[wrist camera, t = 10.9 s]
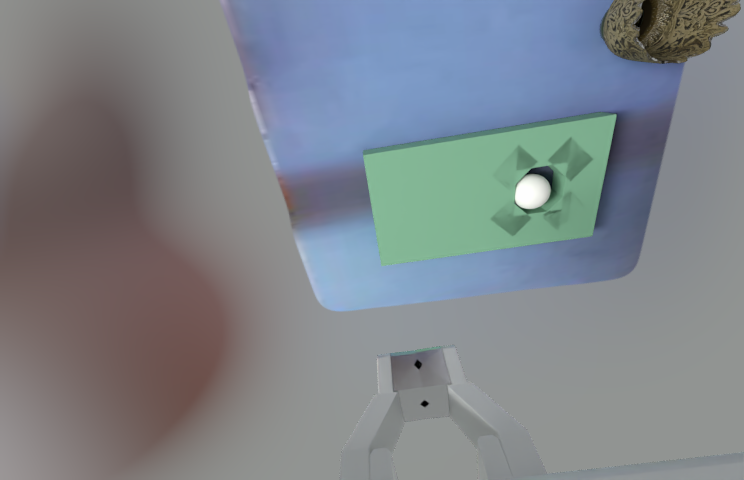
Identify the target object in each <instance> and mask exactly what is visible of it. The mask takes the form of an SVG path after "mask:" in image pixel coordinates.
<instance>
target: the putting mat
mask: <svg viewBox="0 0 744 480" xmlns="http://www.w3.org/2000/svg"><path fill="white" fill-rule="evenodd" d="M616 116H617V114H612V113H604V112H597V113H591V114H584V115H578V116H572V117H566V118H560V119H554V120H548V121H541V122H535V123H529V124H523V125H517V126H511V127H505V128H498V129H492V130H486V131H480V132H474V133H468V134H462V135H455V136H449V137H443V138H437V139H431V140H425V141H419V142H412V143H406V144H400V145H394V146H388V147H382V148H376V149H369V150H363V157H364V163H365V169H366V175H367V181H368V187H369V193H370V199H371V205H372V211H373V217H374V223H375V229H376V235H377V241H378V247H379V253H380V259H381V265H382V266H385V265H392V264H399V263H406V262H413V261H420V260H428V259H435V258H442V257H449V256H456V255H463V254H470V253H477V252H484V251H491V250H498V249H505V248H512V247H519V246H526V245H533V244H540V243H548V242H555V241H562V240H569V239H576V238H583V237H590V236H592V235H593V230H594V225H595V220H596V215H597V210H598V205H599V200H600V195H601V191H602V186H603V181H604V176H605V171H606V166H607V161H608V156H609V151H610V146H611V141H612V136H613V131H614V126H615V121H616ZM542 166H549V167H550V168H551V169H552V170H553V171H554V172H553V180H552V188H551V193H550V196H549V198H548V200H547V201H546V202H545V203H544V204H543V205H542V206H540V207H538V208H535V209H525V208H522V207H520V206H517V205H515V204H514V201H515V185H516V184H517V183H518V182H519V181H520V180H521V179H522V177H523V176H524V175H525V174H526V173H527V172H528V171H529V170H530V169H531V168H536V167H542Z"/></svg>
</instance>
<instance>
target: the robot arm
mask: <svg viewBox="0 0 744 480" xmlns="http://www.w3.org/2000/svg"><path fill="white" fill-rule="evenodd" d="M377 371H378V373H377V374H378V394H375V395H374V396H373V398H372V400H371V402H370V403H369V405H368V407H367V409H366V410H365V412H364V414H363V416H362V417H361V419H360V420H359V422H358V424H357V426H356V427H355V429H354V431H353V432H352V434H351V436H350V438H349V439H348V441H347V443H346V445H345V446H344V448H343V450H342V451H341V467H340V480H398V478H397V474H396V470H395V466H394V462H393V458H392V454H393V451H394V449H395V447H396V444H397V442H398V439H399V437H400V434H401V432H402V429H403V427H404V422H409V421H416V420H422V419H430V418H440V417H450V418H451V419H452V420H453V421H454V423H455V424H456V425H457V426H458V427H459V429H460V430H461V431H462V432H463V433H464V434H465V436H466V437H467V438H468V439H469V440H470V442H471V443H472V444H473V445H474V446H475V447H476V449H477V479H478V480H744V452H741V453H732V454H723V455H713V456H704V457H695V458H687V459H677V460H669V461H660V462H650V463H641V464H632V465H624V466H615V467H605V468H596V469H587V470H578V471H569V472H560V473H551V474H547V472H546V470H545V468H544V465H543V463H542V461H541V459H540V457H539V455H538V453H537V450H536V448H535V446H534V443H533V441H532V439H531V437H530V435H529V432H528V431H527V429H526V428H525V427H523V426H522V425H521V424H520V423H519V422H518V421H517V420H515V419H514V418H513V417H512V416H511V415H510V414H508V413H507V412H506V411H505V410H504V409H503V408H501V407H500V406H499V405H498V404H497V403H496V402H494V401H493V400H492V399H491V398H490V397H489V396H487V395H486V394H485V393H484V392H483V391H482V390H480V389H479V388H478V387H477V386H476V385H475V384H473V383H472V382H467V379H466V376H465V373H464V370H463V367H462V364H461V362H460V359H459V355H458V352H457V349H456V347H455V345H448V346H441V347H440V346H439V347H432V348H426V349H419V350H415V351H407V352H399V353H390V354H381V355H377Z"/></svg>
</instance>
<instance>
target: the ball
mask: <svg viewBox="0 0 744 480" xmlns="http://www.w3.org/2000/svg"><path fill="white" fill-rule="evenodd" d="M550 193H551V187H550V184H549V182H548V181H547V180H546V179H545V178H544V177H543V176H541V175H538V174H527V175H524V176H523V177H522V179H521V180H520V181H519V182H518V183H517V184H516V185H515V201H514V202H515V203H516V204H517V205H518V206H520V207H522V208H525V209H535V208H538V207H540V206H542V205H543V204H544V203H545V202H546V201H547V200H548V198H549V196H550Z"/></svg>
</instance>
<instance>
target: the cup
mask: <svg viewBox="0 0 744 480" xmlns="http://www.w3.org/2000/svg"><path fill="white" fill-rule="evenodd" d="M739 1H740V0H614V1H613V3H612V4H611V6H610V8H609V9H608V10H607V12H606V13H605V14H604V16H603V18H602V20H601V24H600V35H601V38H602V39H603V40H604V41H605V43H606V45H607V47H608V49H609V50H610V51H611V52H612V53H614V54H615V55H617V56H619V57H621V58H624V59H628V60H633V61H641V62H651V63H660V64H661V63H662V64H664V63H682V62H686V61H687V59H688V58H690V57H694V56H697V55H700V54H702V53H704V52H705V51H707V50H709V49H710V47H711V40H712V38H713V37H715V36H719V35H721V34H723V33H725V32H726V31H728V27H727V26H726V25H723V24H722V22H724V21H726V20H728V19H730V18H732V17H734V16H735V15H736V14H737V13H738V12H739V11H740V9H741V7H740V4H739ZM719 24H721V25H719Z"/></svg>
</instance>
